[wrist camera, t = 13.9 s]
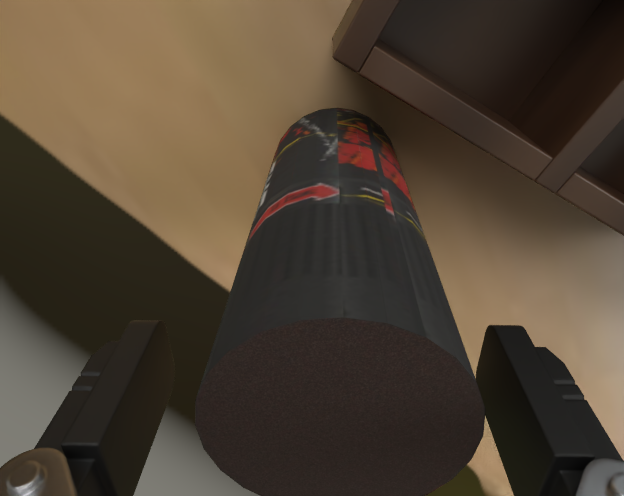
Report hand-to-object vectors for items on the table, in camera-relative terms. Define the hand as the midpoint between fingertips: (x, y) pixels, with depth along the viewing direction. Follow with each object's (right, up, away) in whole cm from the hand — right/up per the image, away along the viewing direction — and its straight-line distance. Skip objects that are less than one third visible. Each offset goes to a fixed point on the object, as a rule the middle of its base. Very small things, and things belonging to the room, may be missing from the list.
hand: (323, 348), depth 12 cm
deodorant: (+1, +6, +11) cm, 13 cm away
